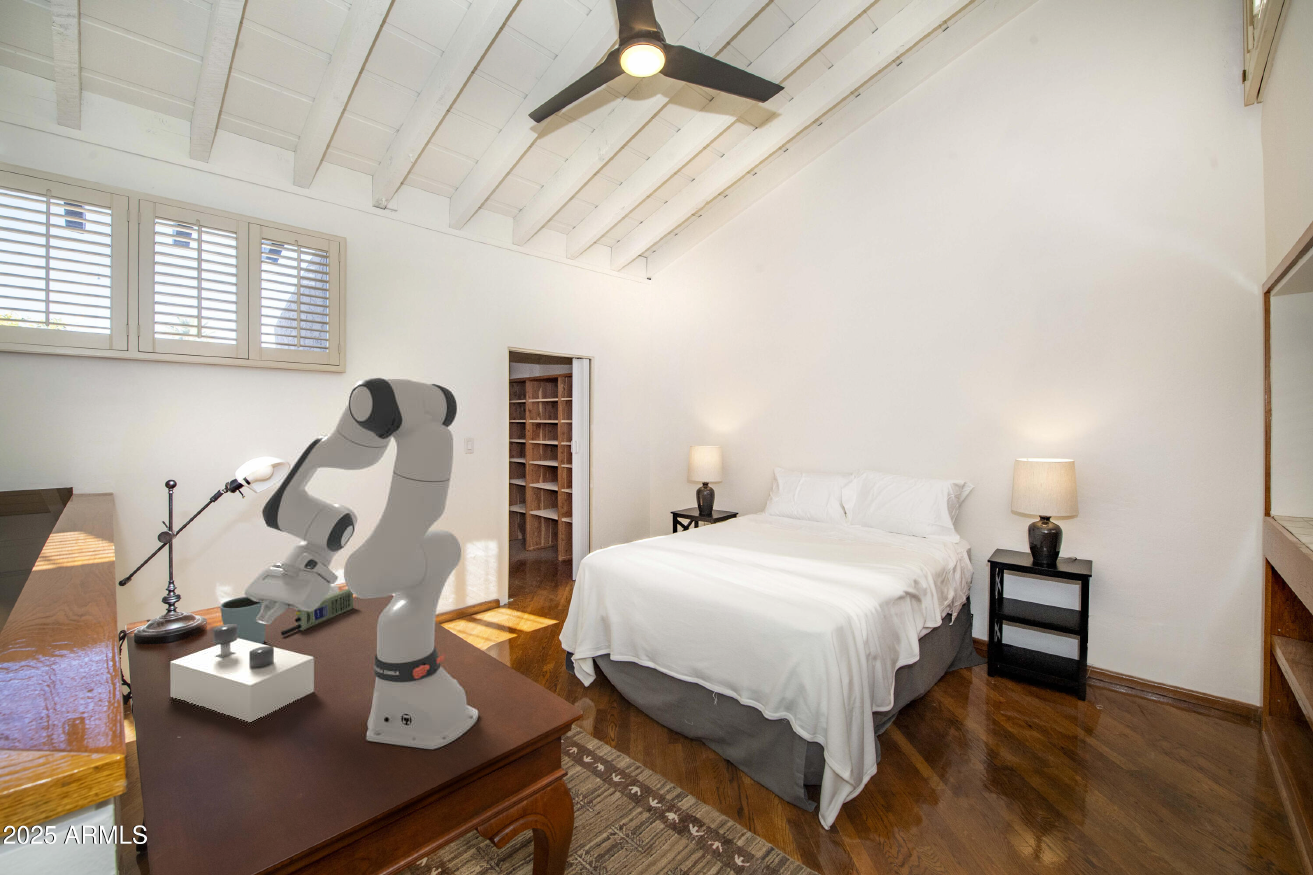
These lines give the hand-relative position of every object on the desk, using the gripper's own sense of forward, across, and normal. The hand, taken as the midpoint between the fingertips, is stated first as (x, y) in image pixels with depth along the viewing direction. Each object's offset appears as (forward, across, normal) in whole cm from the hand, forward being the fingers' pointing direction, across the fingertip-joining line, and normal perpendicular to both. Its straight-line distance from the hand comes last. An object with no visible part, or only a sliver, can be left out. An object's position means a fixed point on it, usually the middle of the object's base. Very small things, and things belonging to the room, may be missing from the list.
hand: (262, 622), depth 121 cm
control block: (+12, -7, +12) cm, 19 cm away
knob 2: (+9, 0, +9) cm, 13 cm away
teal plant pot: (0, -33, +24) cm, 41 cm away
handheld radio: (-14, -30, +38) cm, 51 cm away
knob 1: (+6, -12, +7) cm, 15 cm away
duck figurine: (-22, -45, +46) cm, 68 cm away
